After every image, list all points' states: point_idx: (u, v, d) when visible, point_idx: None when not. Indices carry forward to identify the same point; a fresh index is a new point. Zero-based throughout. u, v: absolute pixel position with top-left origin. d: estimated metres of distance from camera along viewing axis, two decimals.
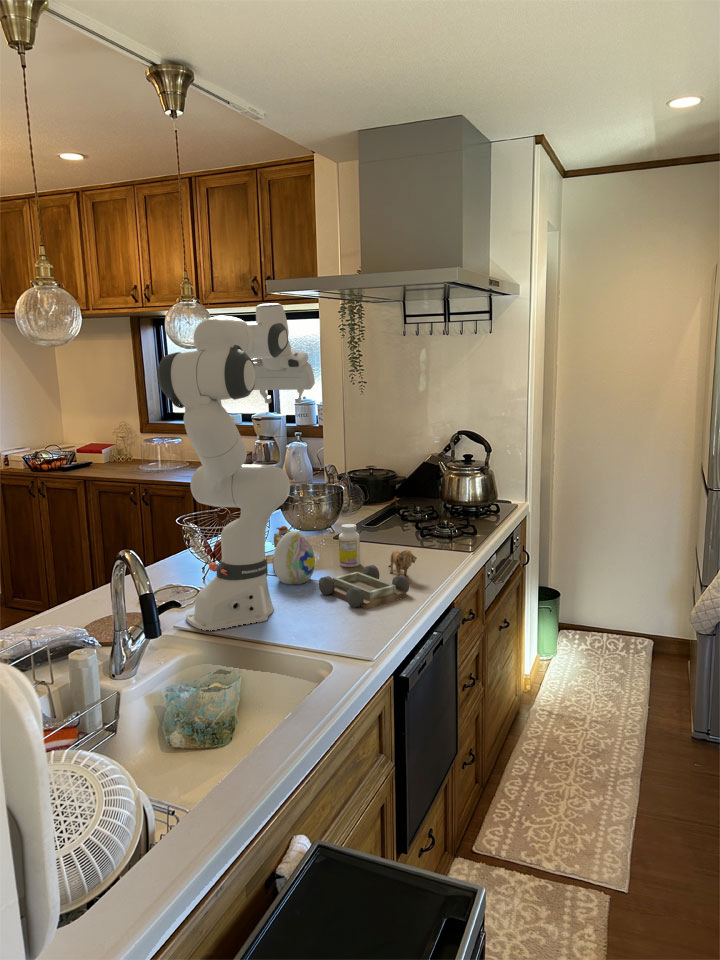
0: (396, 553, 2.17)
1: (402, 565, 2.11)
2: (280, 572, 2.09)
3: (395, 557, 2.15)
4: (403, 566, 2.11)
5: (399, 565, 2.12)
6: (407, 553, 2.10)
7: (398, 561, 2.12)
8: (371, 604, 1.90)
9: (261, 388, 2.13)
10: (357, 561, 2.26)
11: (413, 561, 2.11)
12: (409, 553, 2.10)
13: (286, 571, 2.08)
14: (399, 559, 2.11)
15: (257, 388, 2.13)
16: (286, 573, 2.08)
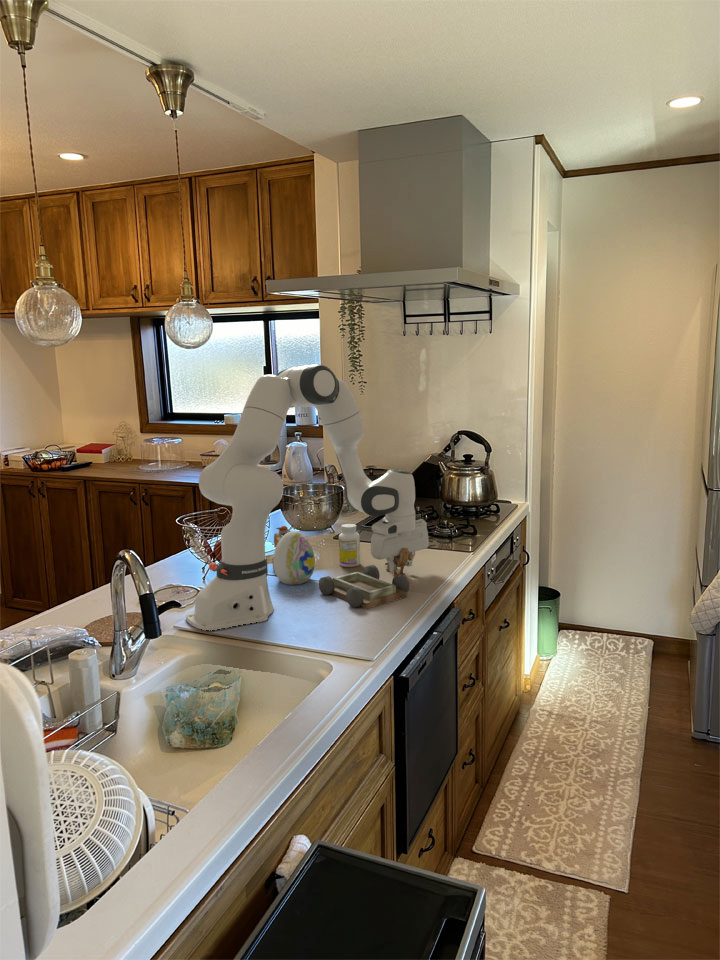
0: None
1: (399, 562, 2.13)
2: (280, 572, 2.09)
3: None
4: (400, 563, 2.13)
5: (396, 562, 2.14)
6: (404, 550, 2.12)
7: (395, 558, 2.14)
8: (371, 604, 1.90)
9: None
10: (357, 561, 2.26)
11: (410, 559, 2.14)
12: (406, 551, 2.12)
13: (286, 571, 2.08)
14: (396, 556, 2.14)
15: None
16: (286, 573, 2.08)
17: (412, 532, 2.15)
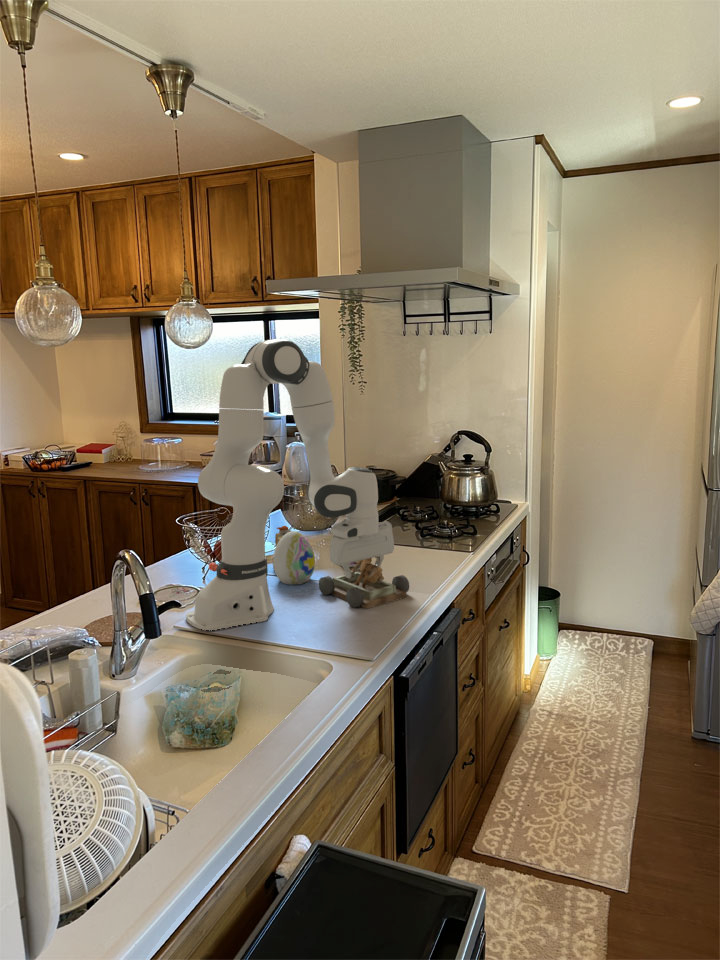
0: (367, 559, 2.01)
1: (366, 578, 1.95)
2: (280, 572, 2.09)
3: (364, 564, 1.99)
4: (366, 579, 1.96)
5: (363, 576, 1.96)
6: (377, 571, 1.94)
7: (365, 572, 1.96)
8: (371, 604, 1.90)
9: None
10: (357, 561, 2.26)
11: (378, 580, 1.96)
12: (379, 572, 1.94)
13: (286, 571, 2.08)
14: (367, 571, 1.96)
15: None
16: (286, 573, 2.08)
17: (375, 535, 1.99)
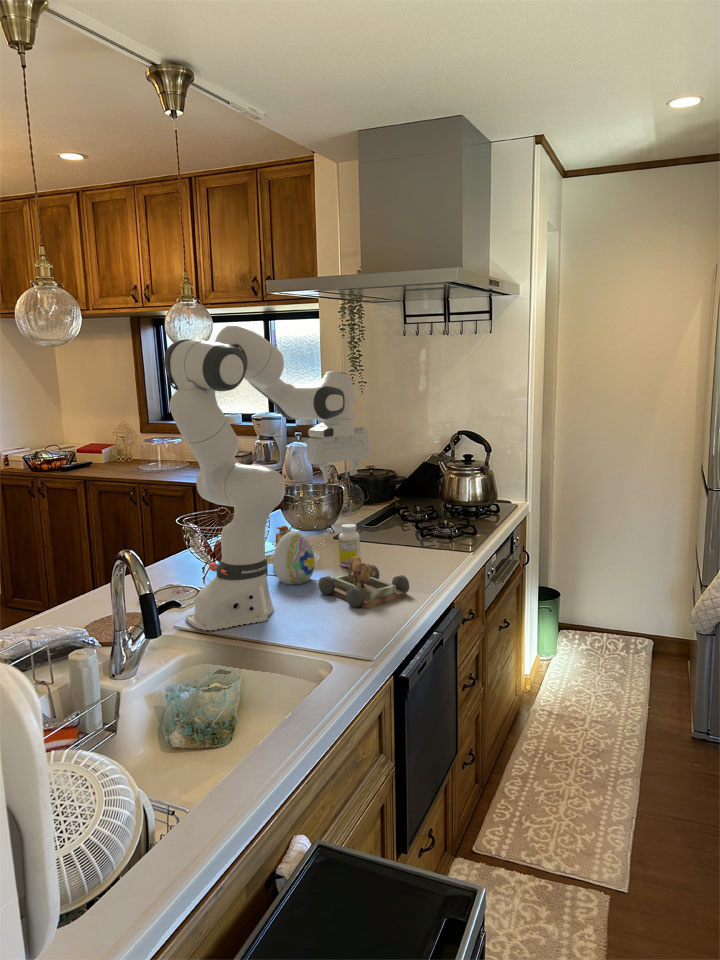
0: (356, 560, 2.01)
1: (359, 579, 1.96)
2: (280, 572, 2.09)
3: (354, 566, 2.00)
4: (360, 580, 1.96)
5: (356, 578, 1.96)
6: (366, 568, 1.94)
7: (355, 573, 1.96)
8: (371, 604, 1.90)
9: None
10: None
11: (371, 576, 1.96)
12: (368, 568, 1.94)
13: (286, 571, 2.08)
14: (357, 572, 1.96)
15: None
16: (286, 573, 2.08)
17: (351, 438, 2.07)
